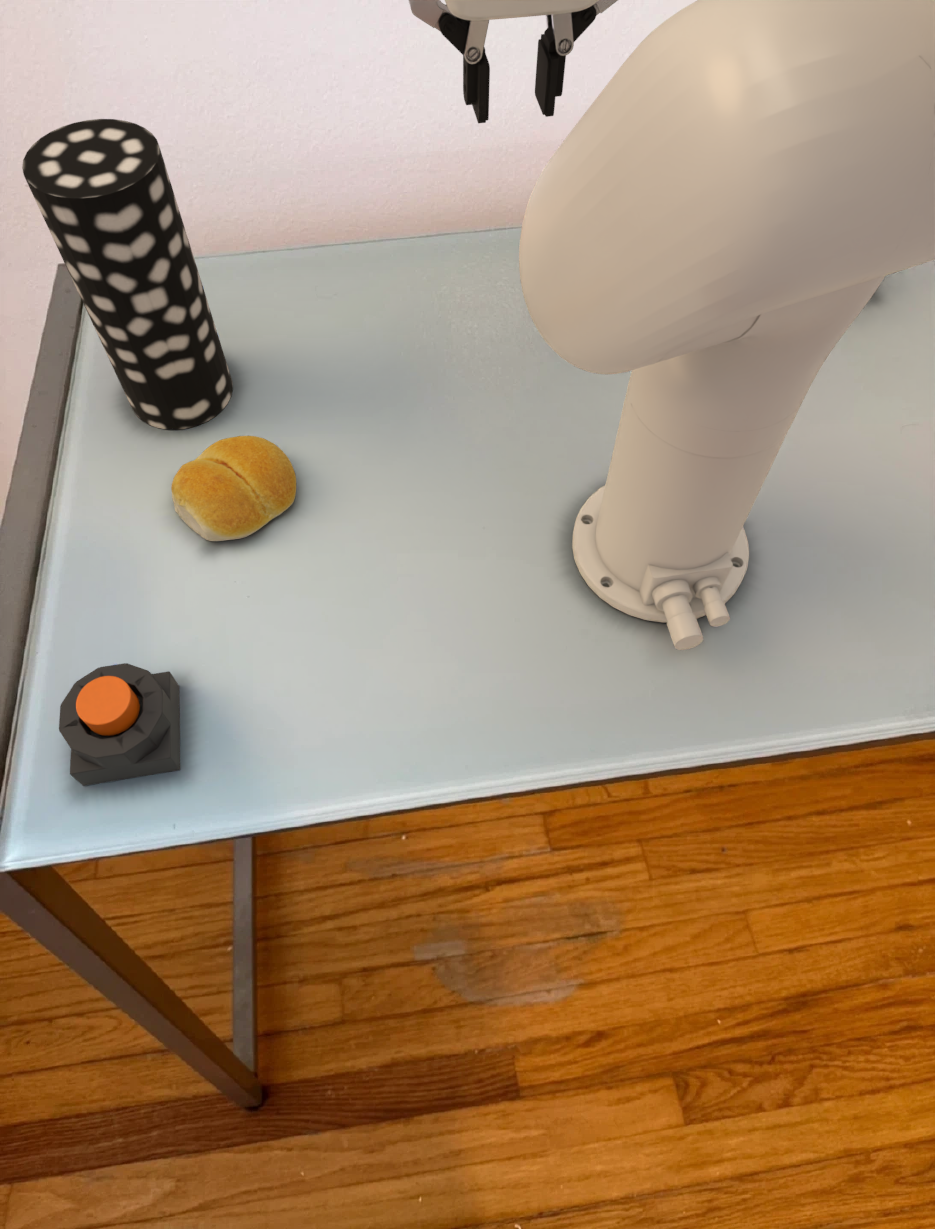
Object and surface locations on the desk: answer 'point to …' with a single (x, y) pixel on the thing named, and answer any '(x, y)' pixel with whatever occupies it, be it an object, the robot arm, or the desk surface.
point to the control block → (135, 749)
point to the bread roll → (234, 488)
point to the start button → (107, 705)
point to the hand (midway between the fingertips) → (511, 106)
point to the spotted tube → (132, 266)
